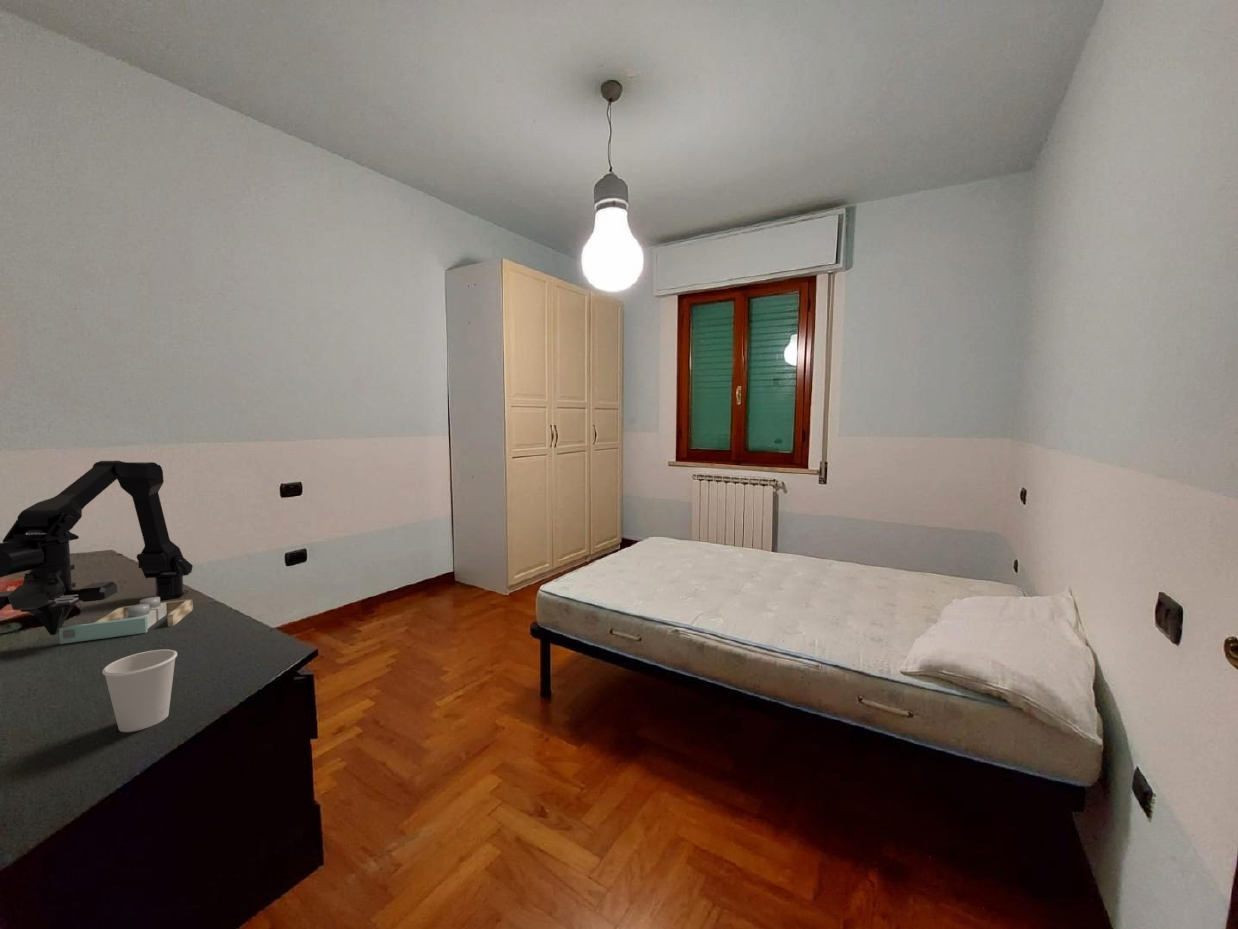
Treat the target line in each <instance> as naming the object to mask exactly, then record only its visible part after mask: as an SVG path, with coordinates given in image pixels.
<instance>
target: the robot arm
mask: <svg viewBox="0 0 1238 929" xmlns="http://www.w3.org/2000/svg"><path fill="white" fill-rule="evenodd" d="M115 481H118V484H119V486H120V488H121V489H123V490H124V491H125V493H127V494H129V495H130V496H131V497H132V501H133V505H134V509H135V512H136V517H137V520H138V524H139V528H140V532H141V536H142V539H143V544H144V547H143V549H142V550H141V551H140V553H138V554H137V555H136V559H137V562H138V569H141V571H142V573H143V575H144V578H145V579H154V585H155V596H154V597H160V601H165V600H175V599H181V598H182V597H184V596H185V595H186V594H188V593H189V592H190V590H189V589H186V590H184V577H185V576H189V575H190V574H191V573H192V572H193V567H194V566H193V564H192V563H191V562H189V560H188V559H186V558H185V557H184V556H183V553H182V550H181V548H180V547H179V546H178V545H176V543H174V542H173V541H172V540H170V536H169V532H168V528H167V524H166V520H165V515H164V511H163V508H162V503H161V499H160V494H159V491H160V490H161V488H162V486H163V484H164V471H163V468H162V466H161V465H160V464H158V463H157V462H153V461H152V462H151V461H147V462H145V461H144V462H143V461H141V462H139V461H137V462H135V461H134V462H133V461H132V462H131V461H129V462H128V461H127V462H126V461H121V460H99V461H97V462H95V463H94V464H93V465H92V468H90V469H89V470H88V471H86V472H85V473H84V474H83V475H82V476H79V478H77V479H76V480H74V482H72V483H71V484H70V485H68V486H67V487H65V489H64V490H62V491H61V492H59V493H58V494H57V495H55V496H53V497H50V498H47V499H44V500H42V501H38V502H36V503H34V504H32V505H30V506H29V507H27V508H25V509H23V510H22V511H21V512H20V513H19V514H18V516H17V519H16V520H15V522H14V524H13V525H12V526H11V527H10V529H9V531H8V532H7V533H6V535H5V536H4V537H3V540H2V542H0V578H4V577H8V576H12V575H16V574H19V573H24V572H25V573H24V576H23V582H22V584H20V585H18V586H17V587H16V588H15V589H14V590H6V591H5V590H4V591H0V611H2V610H3V609H5V608H6V607H7V606H8V605H11V608H12V610H14V611H20V612H21V613H29V614H31V615H34V616H35V617H36V618H37V619H38V620H39V621H40V623H42V625H43V627H44V628H45V630H46V631H47V632H48V633H49V635H50V636H55V635H58V634H59V628H61V627H63V626H64V624H65V622H66V619H67V618H68V616H69V613H70V612H71V611H72V609H73V608H74V606H75V604H77V603H80V602H83V603H87V602H97V601H98V602H99V601H103V600H106V599H108V598H109V597H112V596H113V595H115V594H116V593H118V586H117V584H116V583H115V582H114V581H105V582H104V581H103V582H102V581H101V582H94V583H93V582H92V583H90V584H88V585H86V586H83V587H81V588H76V587H77V586H76V582H73V581H72V571H73V570H75V569H76V568H75V564H71V551H70V541H74V540H78V539H80V537H79V535H78V534H75V533H73V532H71V531H72V529H73V528H74V527H75V525H77V523H78V522H79V521H80V520H81V518H82V517H83V512H82V511H83V509H84V508H85V507H87V505H88V504H90V503H91V502H92V501H93V500H94V499H95V498H97V497H98V496H99V495H100V494H101V493H102V492H103V491H105V490H106V489H107V488H109V486H110V485H112V484H113V483H114V482H115ZM27 571H28V572H27ZM74 588H75V589H74Z"/></svg>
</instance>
